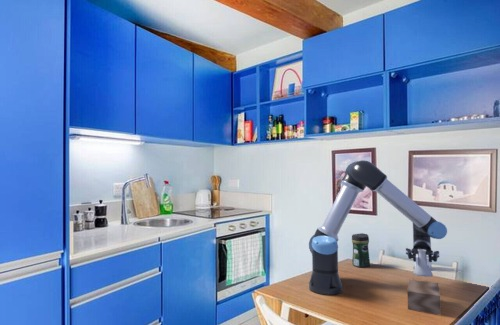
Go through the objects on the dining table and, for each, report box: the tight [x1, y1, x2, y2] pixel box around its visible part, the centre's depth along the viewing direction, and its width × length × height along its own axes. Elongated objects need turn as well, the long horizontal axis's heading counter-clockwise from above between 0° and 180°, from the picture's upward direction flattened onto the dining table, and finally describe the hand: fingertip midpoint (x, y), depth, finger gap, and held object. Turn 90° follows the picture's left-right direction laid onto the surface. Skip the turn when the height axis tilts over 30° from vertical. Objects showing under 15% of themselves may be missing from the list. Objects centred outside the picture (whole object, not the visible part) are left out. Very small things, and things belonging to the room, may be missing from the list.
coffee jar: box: [351, 232, 371, 268], centre depth 185 cm, size 10×8×19 cm
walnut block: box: [406, 278, 442, 316], centre depth 128 cm, size 11×16×7 cm
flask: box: [412, 249, 434, 278], centre depth 129 cm, size 7×7×10 cm
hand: (422, 261), depth 126 cm, fingers closed on flask, 3 cm apart
